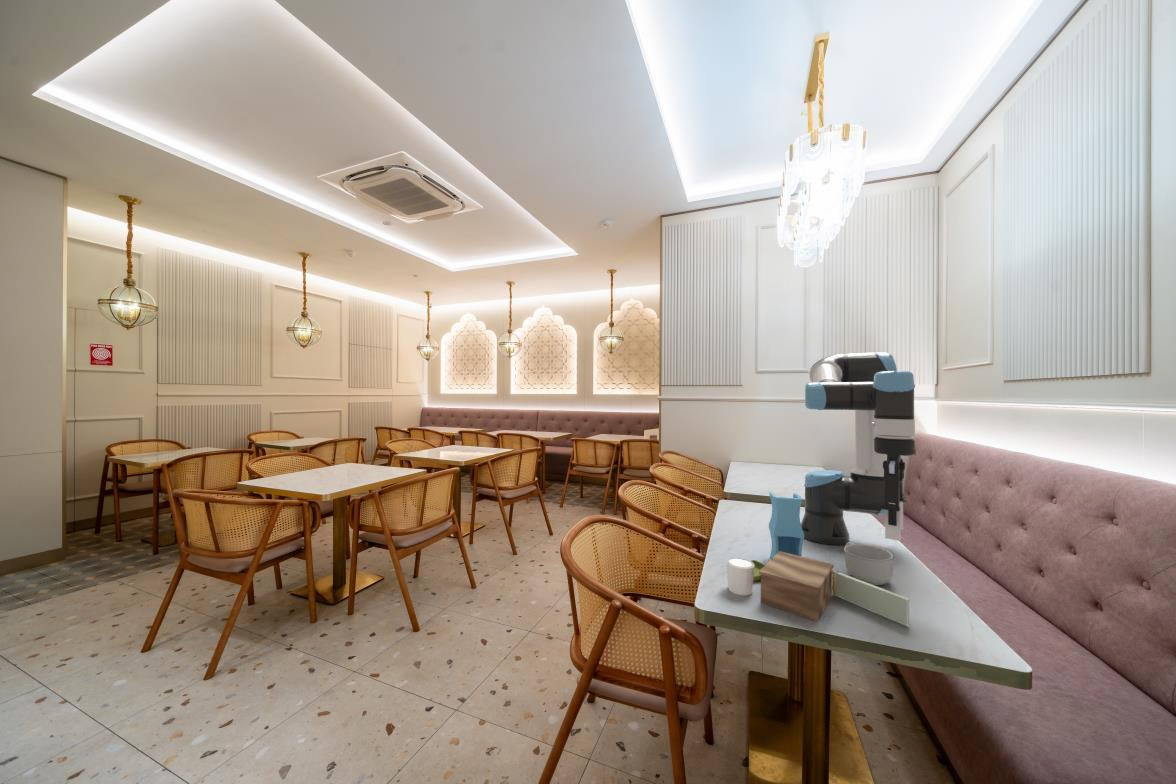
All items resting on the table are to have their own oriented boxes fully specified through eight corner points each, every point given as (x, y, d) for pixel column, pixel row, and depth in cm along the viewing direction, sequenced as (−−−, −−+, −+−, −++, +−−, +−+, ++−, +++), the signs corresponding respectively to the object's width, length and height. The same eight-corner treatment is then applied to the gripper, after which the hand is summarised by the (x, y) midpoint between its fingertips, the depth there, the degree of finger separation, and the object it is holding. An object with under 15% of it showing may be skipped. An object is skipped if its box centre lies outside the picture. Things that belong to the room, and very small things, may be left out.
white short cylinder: (738, 581, 105) (738, 555, 105) (760, 592, 99) (760, 564, 99) (720, 587, 102) (720, 560, 102) (741, 599, 96) (741, 570, 96)
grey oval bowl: (902, 591, 100) (902, 560, 100) (854, 587, 102) (854, 556, 102) (874, 568, 113) (874, 540, 114) (832, 565, 116) (832, 537, 116)
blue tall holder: (796, 558, 120) (796, 493, 120) (804, 569, 112) (804, 499, 113) (768, 556, 122) (768, 491, 122) (774, 566, 114) (774, 497, 115)
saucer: (730, 571, 112) (730, 563, 112) (754, 566, 115) (754, 559, 115) (753, 584, 104) (753, 576, 104) (778, 579, 107) (778, 571, 107)
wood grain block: (779, 578, 107) (779, 551, 107) (833, 594, 98) (833, 564, 98) (759, 602, 94) (759, 571, 94) (819, 622, 86) (818, 588, 86)
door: (831, 593, 98) (831, 571, 98) (834, 592, 98) (834, 570, 98) (906, 626, 84) (906, 600, 84) (909, 624, 84) (909, 598, 85)
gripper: (878, 433, 103) (879, 519, 102) (868, 439, 86) (869, 542, 86) (916, 434, 98) (917, 525, 97) (912, 442, 82) (913, 551, 81)
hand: (894, 533), depth 92 cm, fingers open, 9 cm apart
